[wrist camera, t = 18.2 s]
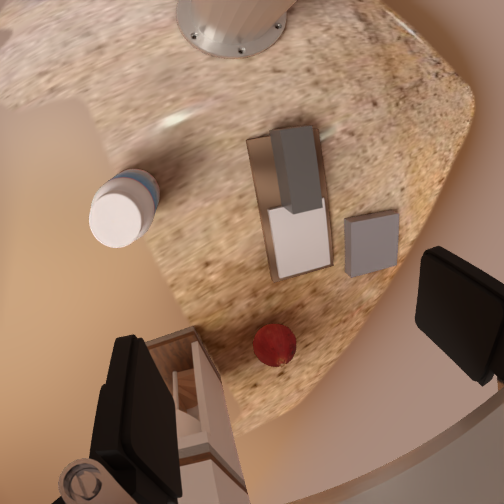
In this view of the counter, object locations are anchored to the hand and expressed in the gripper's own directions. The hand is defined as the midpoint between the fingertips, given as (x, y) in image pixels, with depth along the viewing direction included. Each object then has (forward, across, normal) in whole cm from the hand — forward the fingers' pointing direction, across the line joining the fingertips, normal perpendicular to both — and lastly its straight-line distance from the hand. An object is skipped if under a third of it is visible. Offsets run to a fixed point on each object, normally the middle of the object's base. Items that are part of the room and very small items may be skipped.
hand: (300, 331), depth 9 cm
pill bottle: (+28, +9, -1) cm, 30 cm away
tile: (+27, -16, +12) cm, 34 cm away
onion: (+28, -3, +22) cm, 36 cm away
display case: (+28, +12, +24) cm, 39 cm away
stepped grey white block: (+27, -9, +4) cm, 29 cm away
